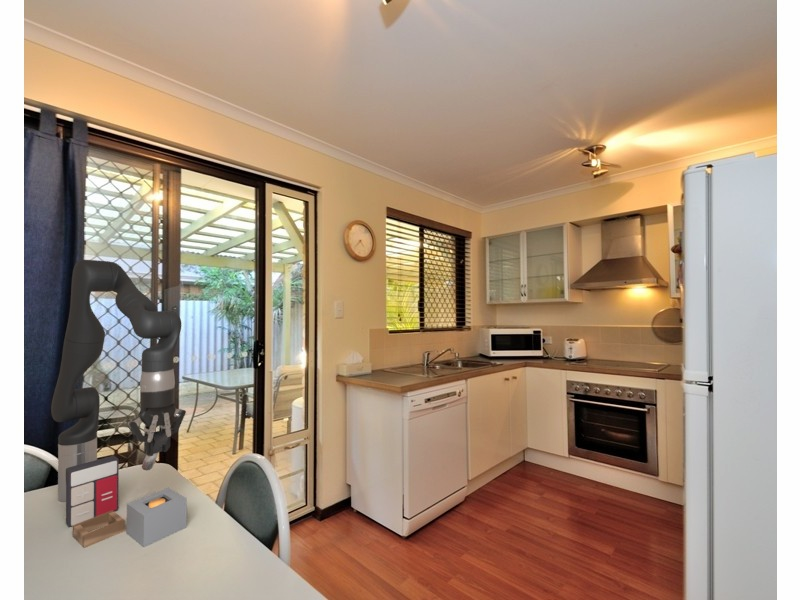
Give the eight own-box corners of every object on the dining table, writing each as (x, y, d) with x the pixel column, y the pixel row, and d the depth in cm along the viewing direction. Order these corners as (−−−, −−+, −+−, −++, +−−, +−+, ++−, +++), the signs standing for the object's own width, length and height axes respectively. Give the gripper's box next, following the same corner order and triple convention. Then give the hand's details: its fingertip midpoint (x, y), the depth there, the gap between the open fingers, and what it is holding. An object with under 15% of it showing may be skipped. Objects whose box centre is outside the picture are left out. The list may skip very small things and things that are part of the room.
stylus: (139, 463, 100) (151, 433, 96) (151, 459, 102) (163, 429, 99) (143, 472, 99) (155, 441, 95) (155, 468, 101) (168, 438, 97)
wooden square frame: (72, 537, 95) (72, 525, 95) (112, 521, 102) (112, 510, 102) (84, 549, 90) (84, 537, 90) (124, 531, 97) (124, 520, 97)
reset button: (146, 522, 97) (146, 502, 97) (161, 515, 100) (161, 496, 100) (152, 526, 95) (152, 507, 95) (167, 519, 98) (167, 500, 98)
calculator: (68, 529, 98) (69, 472, 98) (65, 523, 101) (65, 468, 101) (119, 511, 107) (119, 458, 107) (114, 505, 109) (115, 454, 109)
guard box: (126, 534, 96) (126, 503, 96) (168, 516, 104) (168, 487, 104) (143, 549, 90) (143, 515, 90) (186, 528, 98) (186, 497, 98)
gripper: (178, 380, 105) (178, 441, 105) (120, 390, 94) (119, 459, 94) (192, 384, 101) (192, 447, 101) (132, 394, 89) (132, 466, 89)
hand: (157, 452), depth 97 cm, fingers closed on stylus, 3 cm apart
